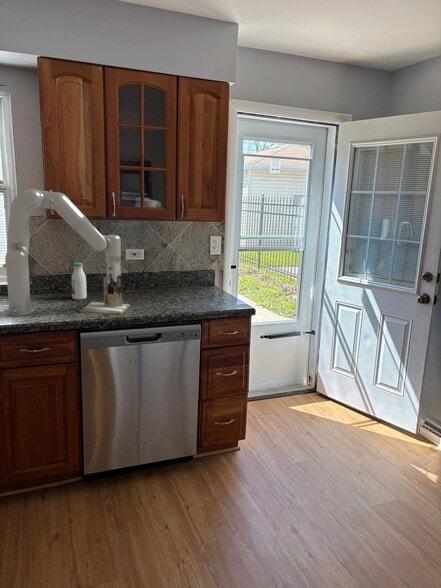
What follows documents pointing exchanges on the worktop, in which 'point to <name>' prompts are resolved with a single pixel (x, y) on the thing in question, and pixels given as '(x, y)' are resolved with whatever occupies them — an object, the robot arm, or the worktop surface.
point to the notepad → (104, 308)
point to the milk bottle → (78, 282)
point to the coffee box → (115, 298)
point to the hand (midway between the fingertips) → (113, 291)
